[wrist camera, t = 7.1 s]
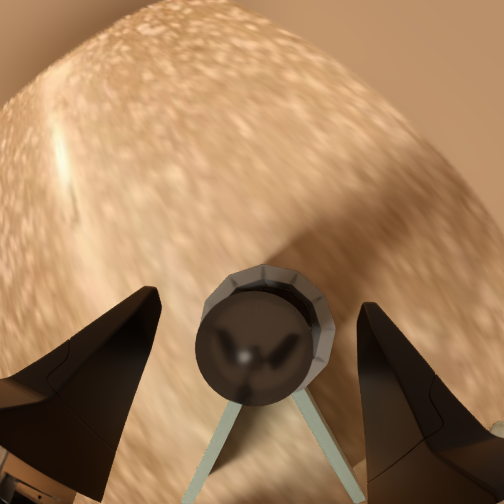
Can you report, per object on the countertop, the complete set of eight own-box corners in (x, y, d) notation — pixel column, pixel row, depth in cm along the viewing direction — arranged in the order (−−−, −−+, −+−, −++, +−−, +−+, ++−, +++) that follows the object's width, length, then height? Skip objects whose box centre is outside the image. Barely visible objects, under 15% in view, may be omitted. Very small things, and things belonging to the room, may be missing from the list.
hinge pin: (290, 361, 21) (297, 416, 9) (236, 349, 21) (185, 389, 10) (302, 308, 22) (324, 304, 10) (248, 296, 22) (209, 280, 10)
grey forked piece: (339, 498, 18) (349, 531, 13) (186, 470, 20) (166, 499, 15) (398, 300, 21) (426, 296, 16) (230, 267, 23) (216, 254, 18)
